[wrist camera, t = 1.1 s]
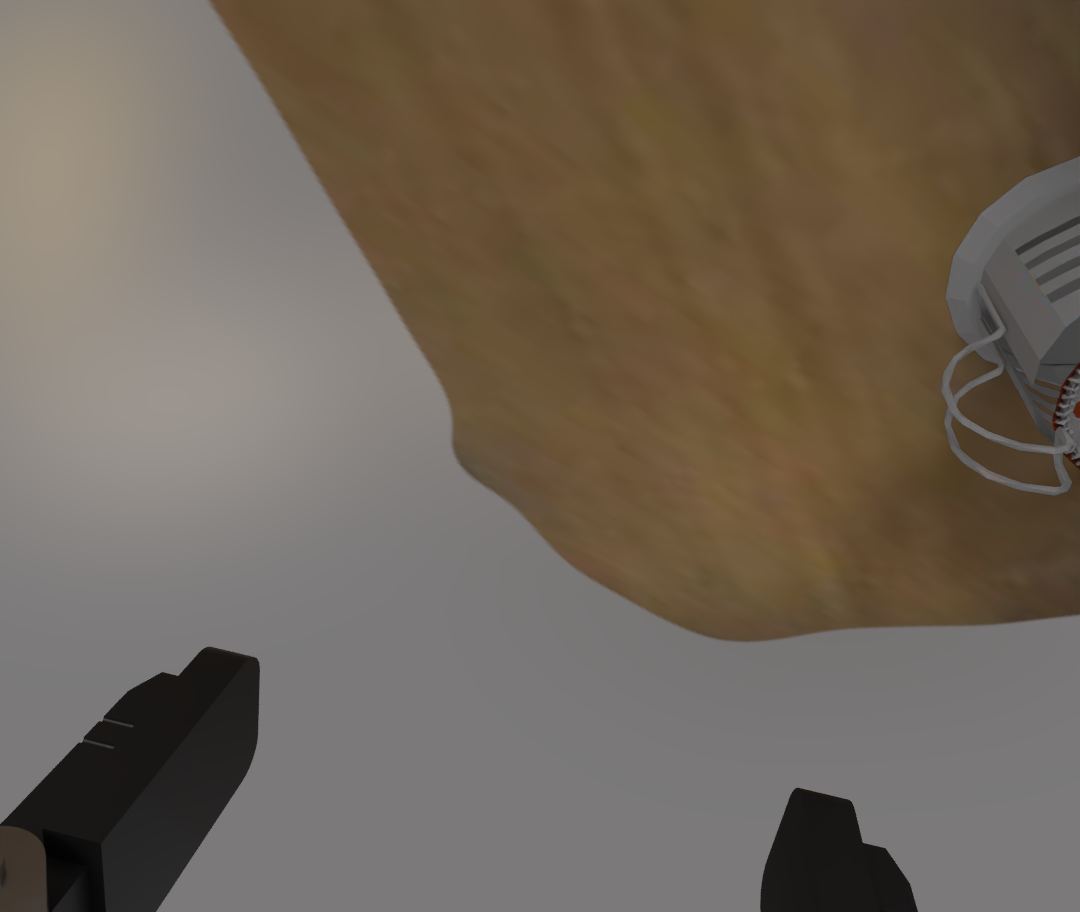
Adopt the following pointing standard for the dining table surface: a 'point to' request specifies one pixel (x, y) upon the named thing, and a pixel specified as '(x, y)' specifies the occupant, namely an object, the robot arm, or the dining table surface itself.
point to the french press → (1024, 311)
